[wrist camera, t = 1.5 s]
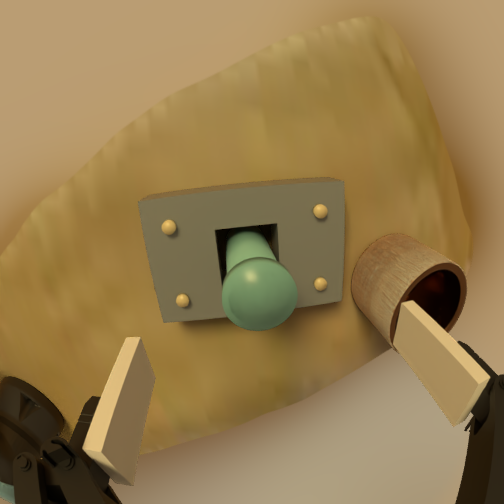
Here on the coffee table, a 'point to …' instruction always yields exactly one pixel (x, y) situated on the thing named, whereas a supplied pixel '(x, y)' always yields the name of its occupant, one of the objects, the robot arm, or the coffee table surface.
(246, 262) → the plug
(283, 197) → the grey socket block
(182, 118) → the coffee table surface
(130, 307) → the coffee table surface
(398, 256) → the planter
